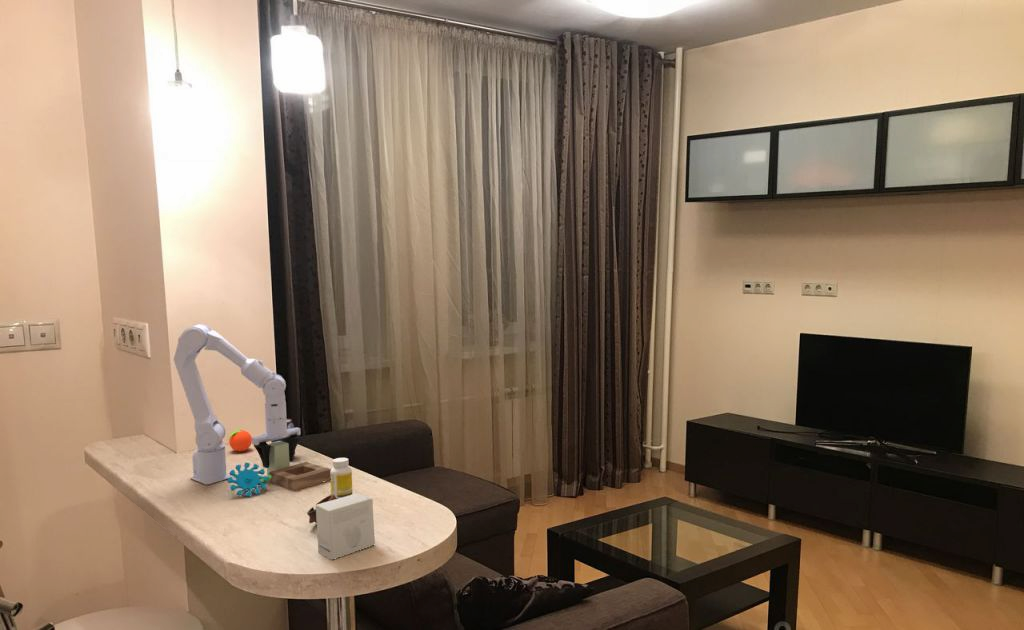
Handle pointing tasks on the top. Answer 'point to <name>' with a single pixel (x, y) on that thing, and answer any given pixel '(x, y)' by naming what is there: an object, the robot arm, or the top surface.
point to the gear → (248, 479)
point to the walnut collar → (299, 476)
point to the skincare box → (345, 525)
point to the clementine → (240, 440)
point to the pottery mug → (329, 498)
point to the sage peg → (278, 456)
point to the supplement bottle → (341, 477)
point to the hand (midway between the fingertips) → (278, 464)
